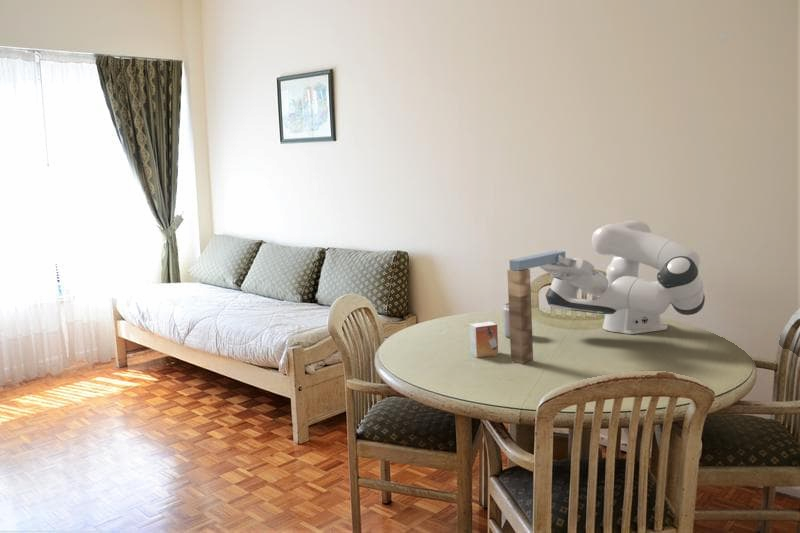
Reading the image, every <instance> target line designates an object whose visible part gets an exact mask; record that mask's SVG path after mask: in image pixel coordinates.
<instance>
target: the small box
mask: <svg viewBox="0 0 800 533" xmlns="http://www.w3.org/2000/svg"><path fill="white" fill-rule="evenodd" d="M469 339H470V340H469V341H470V343H469V344H470V354H471V355H472V356H474V357H476V358H482V357H489V356H491V355H492V356H497V354H498V355H499V342H498V341H499V338H498V324H496V323H495V322H493V321H492V320H490V321H485V322H479V323H469Z"/></svg>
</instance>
